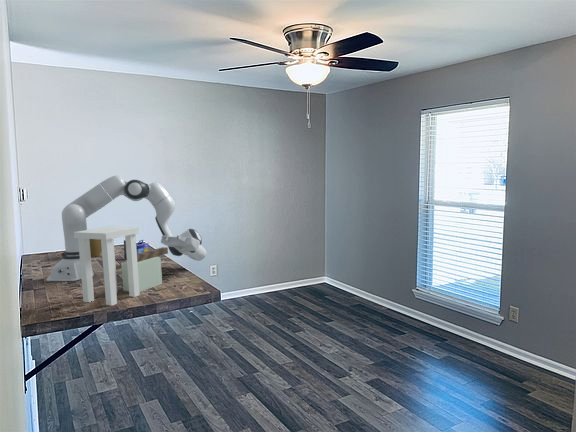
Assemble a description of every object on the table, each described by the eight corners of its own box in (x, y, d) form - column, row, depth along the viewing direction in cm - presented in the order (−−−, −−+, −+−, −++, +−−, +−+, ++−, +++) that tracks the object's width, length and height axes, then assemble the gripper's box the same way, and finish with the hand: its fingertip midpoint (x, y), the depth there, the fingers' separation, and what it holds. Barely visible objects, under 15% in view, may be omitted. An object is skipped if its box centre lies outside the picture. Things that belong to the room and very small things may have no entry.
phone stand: (136, 259, 276) (135, 240, 275) (126, 260, 273) (125, 241, 272) (134, 256, 284) (132, 238, 282) (124, 258, 281) (123, 239, 280)
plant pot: (100, 258, 283) (98, 233, 281) (77, 258, 283) (75, 234, 282) (110, 253, 298) (108, 230, 296) (88, 254, 298) (86, 231, 296)
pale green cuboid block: (138, 292, 198) (136, 264, 196) (123, 290, 202) (121, 263, 200) (162, 283, 212) (160, 257, 211) (147, 282, 216) (146, 256, 215)
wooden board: (133, 263, 199) (132, 256, 198) (128, 262, 200) (127, 256, 200) (167, 253, 221) (167, 247, 220) (163, 253, 222) (162, 247, 221)
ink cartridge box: (138, 266, 254) (137, 241, 253) (131, 265, 256) (129, 241, 255) (150, 262, 263) (148, 239, 262) (142, 262, 265) (141, 238, 264)
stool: (111, 306, 178) (105, 233, 175) (79, 302, 185) (73, 232, 182) (143, 294, 194) (138, 227, 191) (112, 291, 202) (107, 226, 198)
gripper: (171, 239, 241) (156, 230, 229) (202, 241, 232) (187, 231, 221) (168, 250, 239) (152, 241, 227) (199, 252, 230) (184, 243, 219)
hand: (170, 236), depth 224 cm, fingers open, 8 cm apart
